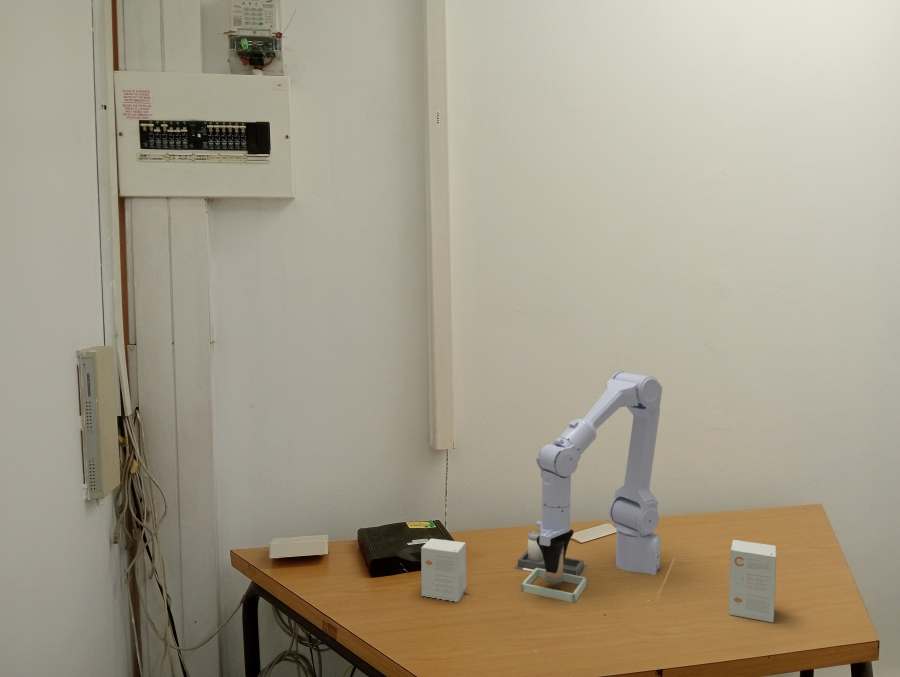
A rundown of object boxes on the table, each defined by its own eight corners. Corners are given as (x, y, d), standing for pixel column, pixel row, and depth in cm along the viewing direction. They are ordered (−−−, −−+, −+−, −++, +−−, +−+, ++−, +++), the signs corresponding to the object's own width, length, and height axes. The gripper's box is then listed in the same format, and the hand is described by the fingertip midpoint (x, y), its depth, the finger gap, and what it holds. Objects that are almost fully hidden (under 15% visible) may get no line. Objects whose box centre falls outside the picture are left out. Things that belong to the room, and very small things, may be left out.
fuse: (546, 562, 158) (546, 532, 158) (540, 568, 155) (541, 537, 154) (530, 559, 160) (531, 529, 159) (525, 565, 157) (525, 534, 156)
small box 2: (774, 609, 139) (776, 545, 137) (773, 623, 133) (777, 556, 132) (729, 601, 142) (732, 538, 141) (727, 615, 136) (730, 549, 135)
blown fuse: (565, 577, 146) (566, 545, 145) (559, 584, 143) (560, 551, 142) (548, 574, 148) (549, 541, 147) (542, 581, 144) (543, 547, 144)
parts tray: (586, 589, 147) (587, 577, 147) (574, 607, 139) (574, 595, 139) (535, 578, 152) (535, 567, 152) (520, 595, 144) (521, 584, 143)
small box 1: (466, 591, 146) (467, 542, 145) (458, 603, 140) (458, 552, 139) (430, 586, 148) (430, 537, 147) (420, 597, 143) (420, 546, 142)
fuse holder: (587, 569, 157) (587, 558, 157) (575, 585, 149) (576, 573, 149) (527, 558, 163) (527, 547, 163) (513, 572, 155) (513, 561, 155)
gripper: (548, 491, 152) (547, 552, 153) (525, 510, 139) (524, 577, 140) (580, 496, 149) (578, 558, 150) (559, 516, 136) (558, 584, 137)
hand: (554, 568), depth 145 cm, fingers closed on blown fuse, 4 cm apart
